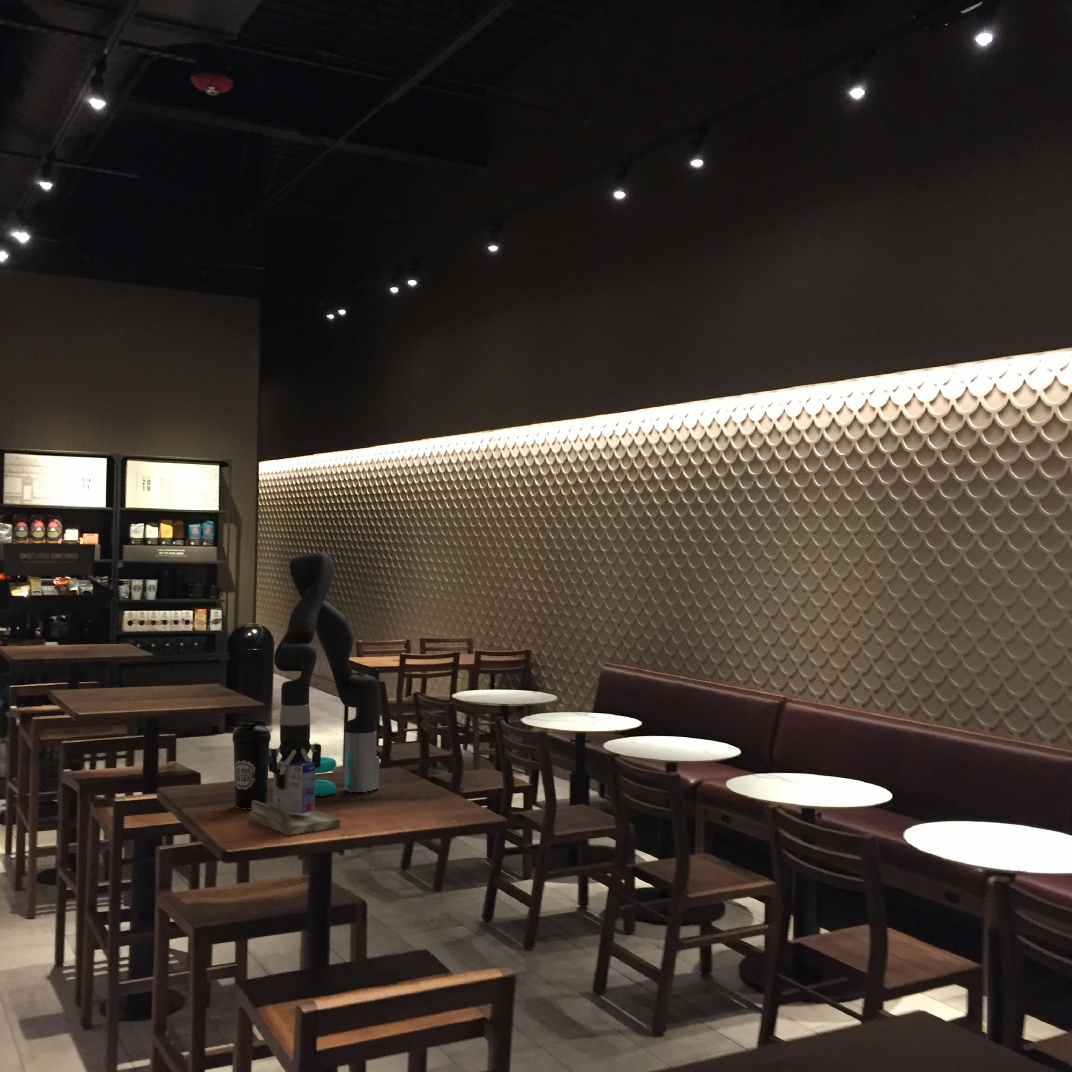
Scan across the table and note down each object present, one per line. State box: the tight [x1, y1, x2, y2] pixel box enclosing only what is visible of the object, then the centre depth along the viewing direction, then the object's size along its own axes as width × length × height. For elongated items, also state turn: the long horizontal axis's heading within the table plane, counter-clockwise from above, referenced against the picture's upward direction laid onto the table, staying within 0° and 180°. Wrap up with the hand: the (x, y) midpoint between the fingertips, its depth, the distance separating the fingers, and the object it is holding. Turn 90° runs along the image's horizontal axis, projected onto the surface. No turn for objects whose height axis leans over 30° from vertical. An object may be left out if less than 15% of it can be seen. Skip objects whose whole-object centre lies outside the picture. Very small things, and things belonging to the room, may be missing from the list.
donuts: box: [309, 756, 337, 796], centre depth 309 cm, size 10×10×10 cm
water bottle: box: [231, 719, 272, 810], centre depth 293 cm, size 10×10×23 cm
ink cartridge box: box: [272, 757, 316, 814], centre depth 273 cm, size 10×6×14 cm, turn 63°
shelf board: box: [249, 800, 341, 836], centre depth 273 cm, size 14×22×5 cm, turn 39°
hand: (294, 787), depth 273 cm, fingers open, 7 cm apart
